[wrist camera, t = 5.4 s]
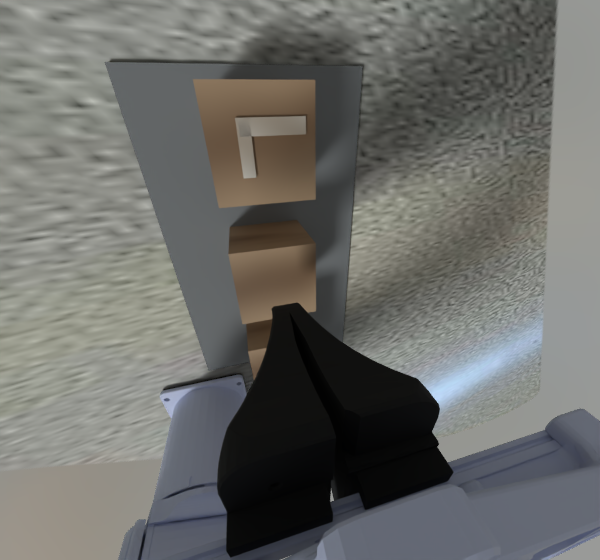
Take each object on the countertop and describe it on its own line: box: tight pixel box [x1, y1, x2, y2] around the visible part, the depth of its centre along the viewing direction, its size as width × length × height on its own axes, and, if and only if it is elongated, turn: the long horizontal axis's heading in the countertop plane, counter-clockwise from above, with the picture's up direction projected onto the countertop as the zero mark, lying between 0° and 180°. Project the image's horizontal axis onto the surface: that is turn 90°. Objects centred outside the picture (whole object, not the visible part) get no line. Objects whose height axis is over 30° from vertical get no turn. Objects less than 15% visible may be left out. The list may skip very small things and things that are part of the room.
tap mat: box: [105, 62, 363, 370], centre depth 19 cm, size 23×14×1 cm, turn 3°
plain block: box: [228, 220, 316, 324], centre depth 17 cm, size 5×5×5 cm
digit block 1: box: [246, 319, 272, 380], centre depth 21 cm, size 5×5×5 cm
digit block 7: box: [193, 79, 316, 208], centre depth 13 cm, size 5×5×5 cm
